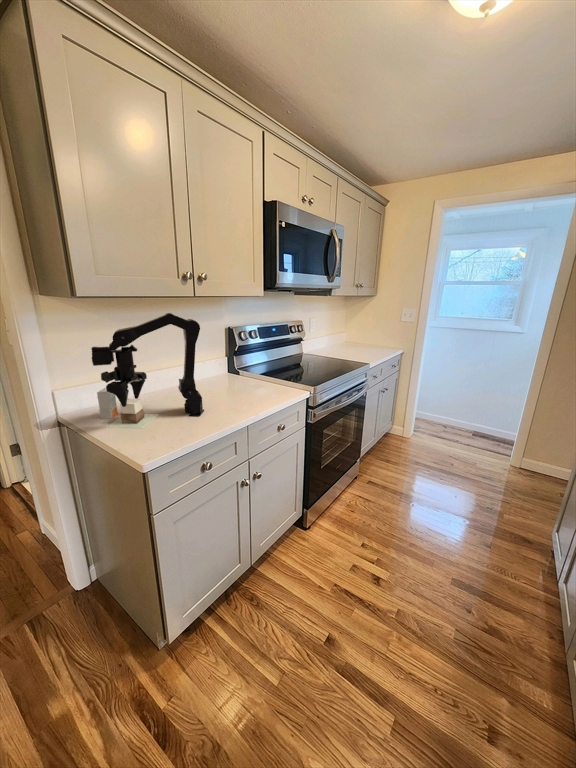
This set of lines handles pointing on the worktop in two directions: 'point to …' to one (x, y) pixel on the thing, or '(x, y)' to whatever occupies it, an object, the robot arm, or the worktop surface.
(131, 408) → the brick cream
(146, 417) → the baseplate
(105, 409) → the skincare box
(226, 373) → the worktop surface
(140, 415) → the brick walnut
